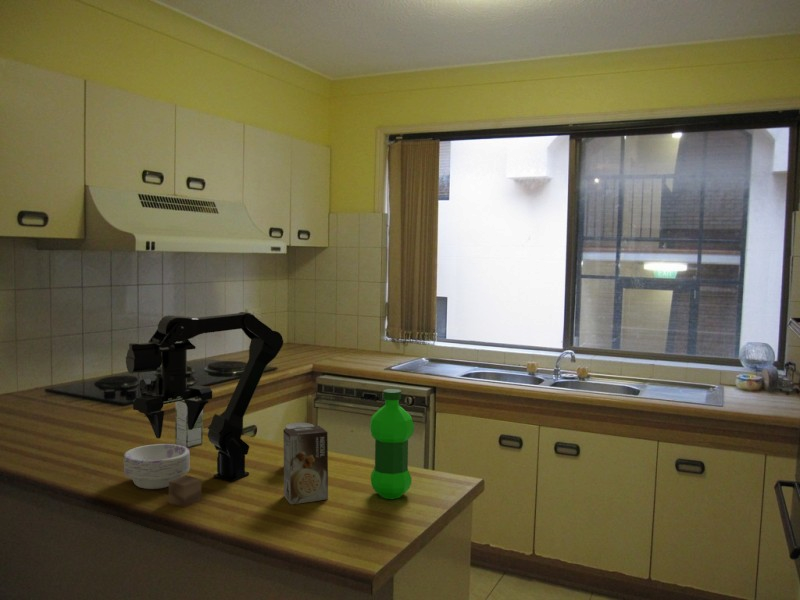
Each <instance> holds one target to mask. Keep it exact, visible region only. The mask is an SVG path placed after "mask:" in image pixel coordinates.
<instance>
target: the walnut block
mask: <svg viewBox="0 0 800 600" xmlns="http://www.w3.org/2000/svg"><path fill="white" fill-rule="evenodd" d="M200 501H202V479H201V478H198V477H194V476H190V475H187V474H184V475H181V477H180V478H177V479H174V480H171V481H169V487H168V504H171V505H174V506H175V505H176V506H179V507H183V508H186V507H188V506H191V505H193V504H196V503H198V502H200Z"/></svg>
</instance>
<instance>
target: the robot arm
mask: <svg viewBox="0 0 800 600" xmlns="http://www.w3.org/2000/svg"><path fill="white" fill-rule="evenodd" d="M232 330H242V331H243V333H244V335H245V336H246V337H247V338H249V340H250V342H249V347H248V361H247V363H246V365H245V368H244V369H243V371H242V373H241V376H240V377H239V380H238V381H237V385H236V386H235V389H234V391H233V393H232V395H231V398H230V400H229V402H228V404H227V407H226V409H224V411H223V412H222V413H221V414H217V413H215V414H214V415H213V417H212V420H211V423H210V425H209V426H208V427H207V430H208V432H207V437H208V441H209V442H210V444H212V445H214V449H215V451H217V456H216V458H217V460H216V464H217V467H216V473H214V474H213V478H216V479H220V480H224V481H229V482H234V481H236V480H239V479H241V478H243V477H246V476H249V475H250V472H249V471H246V455H248V454H249V450H250V445H249V444H248V443H247V442H245V441H244V440H243V439H242V434H243V432H244V431H243V430H244V418H245V414H246V413H247V409H248V408H249V406H250V403H251V401H252V399H253V397H254V394H255V392H256V390H257V388H258V385H259V382H260V381H261V378H262V376H263V375H264V372H265V370H266V368H267V366H268V365H269V364H270V363H271V362H272V361H273V360H274V359H275V358H277V356H278V354H279V353H280V351H281V350H282V347H283V346H284V339H283V336H282V334H281V333H280V332H279V331H276V330H274V329H272V328H270V327H269V325H267V324H265V323H263V322H262V321H261V320H260V319H258V318H257V316H255V315H254V313H251V312H246V311H241V312H238V313H229V314H218V315H210V316H202V317H201V316H200V317H194V316H193V317H192V316H191V317H190V316H184V315H183V316H181V315H166V316H163V317H162V318H161V319H160V320H159V322H158V324H157V329H156V330H155V332H154V333H153V334H152V337H151V338H150V339H149V340H148V342H144V343H136V342H132V343H131V342H130V343H129V344H128V347H129V348H128V349H127V353H126V356H125V366H126V369H127V372H128V373H129V374H132V375H133V374H138V373H150V372H156V371H157V370H158V369H159V368H161V369H160V370H161V371H160V372H158V373H157V375H156V376H157V377H156V379H155V380H151V379H150V377H149V378H142V379H140V380H139V392H140V393H141V394H146V395H142V396H138V397H137V396H136V397H135V398H134V399H133V401H132V410H134V411H138V413H141V414H144V415H145V417H146V418H147V419H148V422H149V424H150V426H151V428H152V431H153V433H154V435H155V438H156V439H161V436H162V433H163V432H162V431H163V424H164V415H165V411H164V410H162V409H163V407H164V405H169V404H171V403H175V402H177V401H182V400H184V401H185V403H186V405H187V414H188V429H189V430H192V429H193V427H194V425H195V423H196V421H197V419H198V417H199V415H200V413H201V411H202V410H203V411H204V408H205V406H206V405H207V404H208V403H209V400H212V399H213V390H212V389H211V387H210V386H205V385H198V384H197V385H192V386H188V378H189V379H190V378H191V372H188V371H187V370H188V367H187V366H188V363H187V361H188V358H187V357H188V356H187V353H188V351H189V350H195V349H196V346H195V345H194V344H193V343H192V341H190V339H194V338H195V337H197V336H200V335H203V334H210V333H216V332H218V333H219V332H224V331H232ZM187 350H188V351H187ZM177 397H178V398H177Z"/></svg>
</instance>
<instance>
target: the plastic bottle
mask: <svg viewBox="0 0 800 600" xmlns="http://www.w3.org/2000/svg"><path fill="white" fill-rule="evenodd" d="M382 390H383V389H382ZM382 397H383V398H382V399H384V400H385V404H384V405H383V406H381V408H379V409H377V411H376V412H374V413H373V414H372V415H371V417H370V421H369V429H370V432H371V436H372V438H373V439H374V468H373V469H372V471H371V473H370V483H371V487H372V489H373V490H374V492H375V493H377V494H378V495H379V497H381V498H383V499H387V500H394V499H399V498H401V497H402V495H404V494H405V493H406V492H407V491H409V489H410V488H411V486H412V476H411V472H410V470H409V469H408V468H409V466H408V465H409V463H408V462H409V440H410V439H411V438H412V436H413V434H414V429H415V423H414V421H413V418H412V415H411V414H409V412H407V411H406V410H405V409H404V408H403V407H402V406H401V405H399V404H400V400H401V399H402V390H401V389H398V388H396V389H395V388H386V389H384V390H383V395H382Z"/></svg>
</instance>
